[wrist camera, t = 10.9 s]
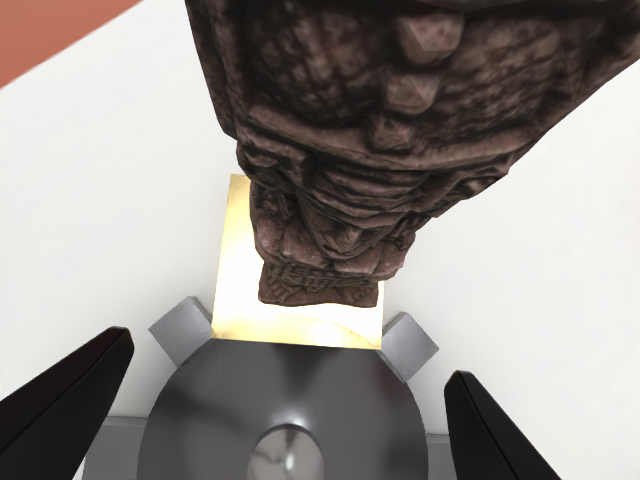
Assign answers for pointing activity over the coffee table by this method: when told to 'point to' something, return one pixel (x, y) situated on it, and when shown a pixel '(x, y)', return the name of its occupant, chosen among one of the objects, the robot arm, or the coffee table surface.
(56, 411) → the robot arm
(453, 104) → the statue
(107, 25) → the coffee table surface
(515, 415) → the coffee table surface
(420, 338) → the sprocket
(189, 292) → the coffee table surface
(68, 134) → the coffee table surface
